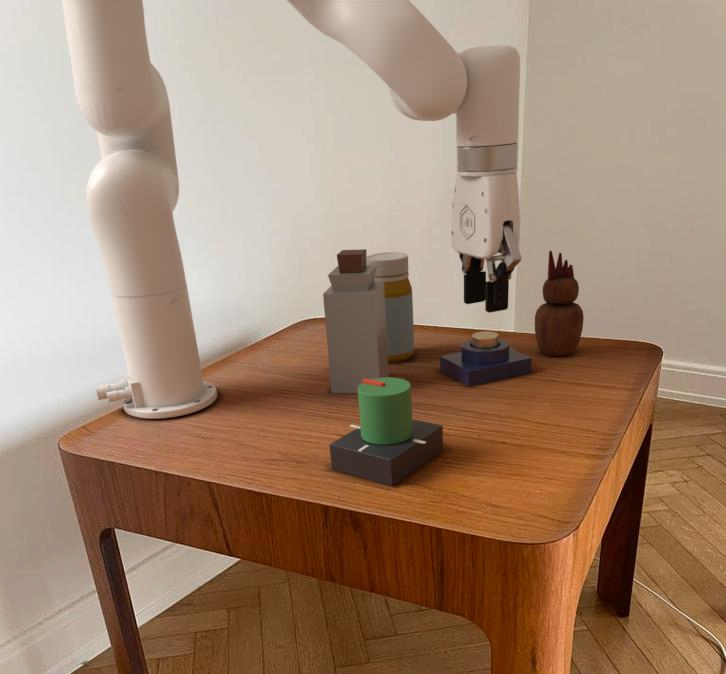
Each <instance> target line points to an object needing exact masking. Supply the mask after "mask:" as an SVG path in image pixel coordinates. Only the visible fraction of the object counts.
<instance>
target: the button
mask: <svg viewBox="0 0 726 674" xmlns="http://www.w3.org/2000/svg"><path fill="white" fill-rule="evenodd" d="M471 339H472V347H473V348H477V349H492V348H496V347H498V339H499V333H497V332H495V331H478V332H477V331H476V332H474V333H472V335H471Z"/></svg>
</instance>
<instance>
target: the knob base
mask: <svg viewBox="0 0 726 674" xmlns="http://www.w3.org/2000/svg"><path fill="white" fill-rule="evenodd" d="M412 426H413V434H412V436H411V437H410V438H409V439H407V440H405V441H403V442H400V443H396V444H388V445H379V444H372V443H369V442H366V441H365V440H363V439H362V437H361V429H360V425H356V424H350V425H349V428H353V430H352V431H349V432H348V433H346V434H344V435H343V436H341V437H340V438H338V439H336V440H335V441H333V442H331V443H329V454H330V464H331V470H332V471H335V472H340V473H343V474H347V475H351V476H353V477H359V478H362V479H365V480H369V481H372V482H375V483H380V484H383V485H386V486H391V487H393V486H395V485H396V484H397V483H399V482H400V481H402V480H403V479H405V478H406V477H407V476H409V475H410V474H412V473H413V472H415V471H416V470H417V469H419V468H420V467H421V466H423V465H424V464H426V463H427V462H428V461H429V460H431V459H432V458H434V457H435V456H437V455H438V454H440V453H441V452H442V451H444V431H443V430H444V429H443V427H444V426H443V425H442V424H438V423H432V422H428V421H423V420H420V419H414V417H412Z"/></svg>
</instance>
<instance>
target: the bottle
mask: <svg viewBox="0 0 726 674" xmlns="http://www.w3.org/2000/svg"><path fill="white" fill-rule="evenodd" d="M366 265H377V269H376V275H375V281H384V291H385V311H386V331H387V351H388V364H390V363H399V362H400V363H401V362H403V361H404V362H405V361H406V360H409V359H411V357H413V355H414V353H415V329H414V328H415V327H414V301H413V287H412V284H411V282H410V279H409V275H410V274H409V256H408V254H407V253H405V252H399V251H398V252H395V251H394V252H393V251H391V252H389V251H387V252H378V253H373V254H369V255H366Z"/></svg>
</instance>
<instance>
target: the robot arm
mask: <svg viewBox="0 0 726 674" xmlns="http://www.w3.org/2000/svg"><path fill="white" fill-rule="evenodd" d="M286 1H287V2H288V3H289V4H290V5H291V6H292V7H293V9H295V10H296V12H298V13H299V14H300V16H302V18H304V19H305V21H307V22H308V23H309V24H310V25H311V26H312V27H314V28H315V29H316V30H317V31H319V32H320V33H322V34H323V35H325V36H327V37H328V38H330V39H333V40H334V41H336V42H338V43H340V44H342V46H344V47H345V48H347V49H348V50H349V51H351V52H352V53H353V54H354V55H355V56H356V57H357V58H359V59H360V60H361V61H362V62H363V63H364V64H366V66H368V68H370V69H371V71H373V72H374V73H375V74H376V75H377V77H379V78H380V79H381V81H383V82H384V83H385V84H386V86H387V87H388V88H389V89H388V90H389V94H390V98H391V102H392V103H393V105H394V108H396V109H397V110H398V112H399V113H400V114H401V115H403V116H404V117H406V118H408V119H410V120H414V121H422V122H437V121H441V120H444V119H447V118H448V117H450V116H451V115H453V114H455V121H456V123H455V125H456V126H455V127H456V129H455V130H456V132H455V133H456V137H455V138H456V141H455V143H456V173H455V178H454V183H453V190H452V201H451V202H452V204H451V220H450V223H451V224H450V228H451V229H450V245H451V248H452V249H453V250H454V251H455V252H456V253H458V257H459V259H460V261H461V273H462V274H463V303H464V304H466V305H471V304H477V303H478V304H479V303H483V302H485V303H484V305H485V307H484V309H485V312H486V313H489V314H490V313H495V312H501V311H507V309H509V290H510V289H509V285H510V284H509V283H510V280H511V279H512V273H513V272H514V270H515V268H516V267H517V266H518V265H519V264H520V263H521V261H522V254H521V251H520V249H519V246H520V237H521V235H520V234H521V212H520V211H521V209H520V208H521V207H520V189H519V181H518V161H519V159H518V158H519V127H520V125H519V121H520V88H521V87H520V86H521V85H520V82H521V56H520V53H519V51H518V50H517V48H516V47H515V46H512V45H486V46H477V47H470V48H466V49H464V50H463V51H461V52H457V51H456V50H455V48H454V47H453V46H452V44H450V43H449V42H448V40H447V39H446V38H445V37H444V36H443V35H442V34H441V33H440V32H439V30H438V29H437V28H436V27H435V25H433V24H432V23H431V22H430V21H429V20H428V19H427V17H425V15H424V14H423V13H422V12H421V11H420V10H419V9H418V8H417V7H416V6H415V5H414V3H412V2H411V1H410V0H286ZM61 4H62V5H61V6H62V9H63V11H62V12H63V19H64V27H65V33H66V39H67V47H68V52H69V58H70V64H71V70H72V79H73V86H74V95H75V99H76V103H77V106H78V109H79V111H80V113H81V115H82V117H83V118H84V120H85V121H86V123H87V124H88V125H89V126H90V127H91V128H92V129H93V130H94V131H96V134H97V139H98V146H99V150H100V155H101V156H100V157H101V160H100V161H98V162H97V164H96V165H95V166H94V167H93V169H92V170H91V172H90V174H89V177H88V181H87V184H86V193H85V194H86V195H85V197H86V198H85V199H86V208H87V212H88V215H89V220H90V223H91V226H92V229H93V232H94V235H95V239H96V242H97V244H98V247H99V250H100V251H99V252H100V255H101V258H102V261H103V266H104V270H105V273H106V279H107V283H108V287H109V292H110V294H111V295H110V296H111V299H112V304H113V305H112V306H113V309H114V314H115V317H116V322H117V327H118V331H119V336H120V340H121V341H120V342H121V346H122V350H123V355H124V360H125V364H126V368H127V371H125V372H124V377H125V378H121V379H120V378H119V379H118V382H115V383H105V384H99V385H95V386H94V389H95V393H96V397H97V401H102V400H108V403H114V402H118V401H121V400H122V406H123V410H124V412H125V413H126V414H127V415H130V417H131V416H132V417H134V418H139V419H148V420H152V419H153V420H159V419H171V418H177V417H180V416H181V417H182V416H186V415H190V414H193V413H196V412H198V411H201V410H204V409H205V408H207V407H209V406H211V405H212V404H213V403H214V402H216V400H217V398H218V392H217V391H218V390H217V387H216V385H214V384H213V383H211V382H209V381H206V380H204V377H203V371H202V364H201V358H200V353H199V348H198V347H199V346H198V343H197V342H198V341H197V336H196V331H195V324H194V318H193V312H192V308H191V307H192V306H191V301H190V297H189V296H190V295H189V290H188V284H187V279H186V273H185V268H184V267H185V266H184V262H183V257H182V253H181V248H180V243H179V238H178V233H177V230H176V225H175V220H174V214H173V212H174V211H175V210H176V207H177V204H178V201H179V197H180V196H179V195H180V182H179V173H178V163H177V155H176V148H175V147H176V146H175V137H174V130H173V121H172V115H171V113H172V112H171V107H170V100H169V94H168V90H167V87H166V84H165V82H164V79H163V76H162V75H161V74H160V72H159V70H158V69H157V68H156V66H155V65H154V64H152V62H151V58H150V51H149V46H148V45H149V44H148V37H147V31H146V23H145V22H146V21H145V9H144V3H143V0H61ZM485 261H486V268H487V271H484V266H485ZM499 261H500V262H499ZM496 262H499V264H498V265H496ZM487 276H488V281H487Z"/></svg>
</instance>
